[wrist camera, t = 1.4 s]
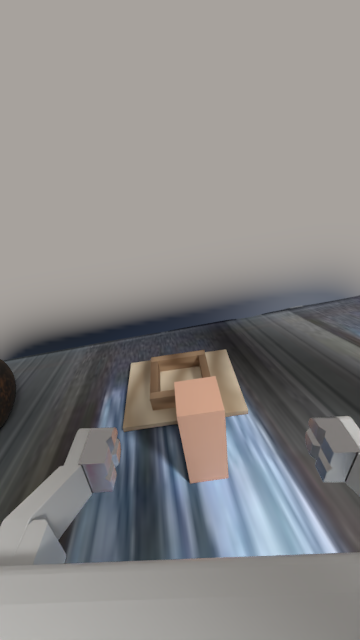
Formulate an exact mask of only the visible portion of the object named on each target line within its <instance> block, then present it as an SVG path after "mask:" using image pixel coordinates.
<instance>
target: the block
mask: <svg viewBox="0 0 360 640" xmlns="http://www.w3.org/2000/svg"><path fill="white" fill-rule="evenodd" d="M174 387H175V401H176V414H177V421H178V426H179V431H180V436H181V440H182V445H183V450H184V455H185V460H186V465H187V470H188V475H189V480H190V483H197V482H204V481H211V480H218V479H225V478H228V461H227V443H226V425H225V409H224V406H223V402H222V398H221V394H220V391H219V387H218V383H217V380H216V376H212V377H205V378H199V379H192V380H185V381H178V382H174Z"/></svg>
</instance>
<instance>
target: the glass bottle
mask: <svg viewBox="0 0 360 640" xmlns="http://www.w3.org/2000/svg"><path fill="white" fill-rule="evenodd" d="M15 394H16V384H15V378H14V375H13V373H12V371H11V369H10V368H9V367H8V365H7V364H6V363H5V362H4V361H2V360H0V428H1V427H2V425H3V424H4V422H5V421H6V419H7V418H8V416H9V414H10V412H11V410H12V407H13V404H14V400H15Z"/></svg>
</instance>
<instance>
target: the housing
mask: <svg viewBox="0 0 360 640" xmlns="http://www.w3.org/2000/svg"><path fill="white" fill-rule="evenodd" d="M212 376H216V380H217V383H218V387H219V391H220V394H221V398H222V402H223V406H224V409H225V417H229V416H236V415H243V414H248V409H247V406H246V403H245V400H244V398H243V395H242V392H241V389H240V387H239V384H238V381H237V378H236V376H235V373H234V370H233V367H232V365H231V362H230V359H229V356H228V353H227V351H226V349H225V350H218V351H212V352H205V351H204V350H200V351H193V352H186V353H179V354H172V355H165V356H159V357H152V358H151V360H150V361H143V362H136V363H131V369H130V376H129V384H128V392H127V399H126V407H125V414H124V422H123V430H124V432H125V431H132V430H139V429H146V428H153V427H160V426H167V425H174V424H178V421H177V414H176V401H175V387H174V382H178V381H185V380H192V379H199V378H205V377H212Z"/></svg>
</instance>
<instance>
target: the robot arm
mask: <svg viewBox="0 0 360 640" xmlns="http://www.w3.org/2000/svg"><path fill="white" fill-rule="evenodd" d="M308 425H309V427H310V429H308V430H307V431H306V435H305V441H306V446H307V449H308V451H309V453H310V455H311V456H312V457H313V458H315V459H316V460H317V461H316V465H315V466H316V468H317V470H318V472H319V474H320V476H321V478H322V480H323V482H346V484H347V485H348V486H349V487H350V488H351V489H352V490H353V491H354V492H355V493H357V494H358V495H359V496H360V429H359V428H358V426H357V425H356V423H355V422H354V421H353V419H352V418H351V417H349V416H340V417H318V418H311V419H310V420H309V423H308ZM120 453H121V446H120V440H119V439H117V429H116V428H81V429H79V430H78V431H77V433H76V436H75V438H74V441H73V443H72V446H71V448H70V451H69V453H68V456H67V458H66V461H65V464H64V466H60V467H59V468H57V469H56V470H55V471H54V472H53V473H52V474H51V475H50V476H49V477H48V478H47V479H46V480H45V481H44V482H43V483H42V484H41V485H40V486H39V487H38V488H36V489H35V490H34V491H33V492H32V493H31V494H30V495H29V496H28V497H27V498H26V499H25V500H24V501H23V502H22V503H21V504H20V505H19V506H18V507H17V508H15V509H14V510H13V511H12V512H11V513H10V514H9V515H8V516H7V517H6V518H5V519H4V520H3V522H2V524H1V526H0V640H360V552H356V553H329V554H303V555H276V556H250V557H223V558H197V559H171V560H145V561H119V562H92V563H66V564H64V563H65V560H66V553H65V551H64V550H63V548H62V546H61V545H60V543H59V541H58V540H59V538H60V537H61V536H62V534H63V533H64V532H65V530H66V529H67V528H68V526H69V525H70V524H71V522H72V521H73V520H74V518H75V517H76V516H77V514H78V513H79V511H80V510H81V509H82V507H83V506H84V505H85V503H86V502H87V501H88V499H89V498H90V497H91V495H92V493H96V492H110V491H113V490H114V485H115V481H116V476H117V473H116V470H115V468H116V466H117V465H118V464H119V461H120Z"/></svg>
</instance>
